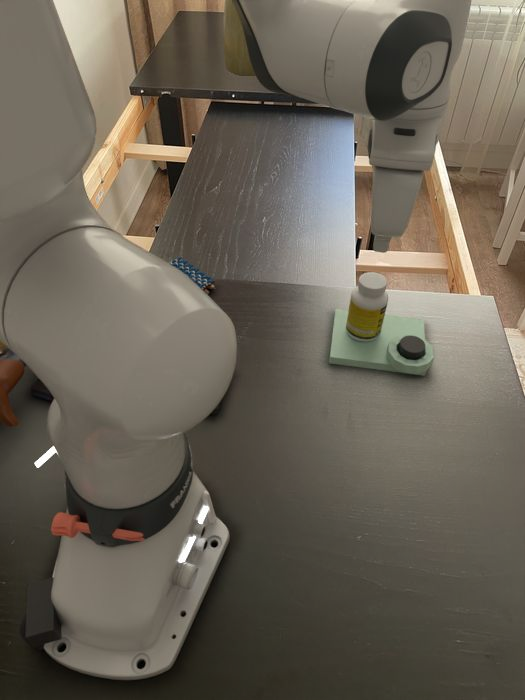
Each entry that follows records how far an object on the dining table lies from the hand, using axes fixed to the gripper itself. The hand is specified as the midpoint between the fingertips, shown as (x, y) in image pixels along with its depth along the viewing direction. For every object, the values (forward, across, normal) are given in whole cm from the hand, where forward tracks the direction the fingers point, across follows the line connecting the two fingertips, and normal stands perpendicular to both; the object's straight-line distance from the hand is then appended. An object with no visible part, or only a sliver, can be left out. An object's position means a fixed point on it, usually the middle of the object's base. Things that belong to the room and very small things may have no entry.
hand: (380, 229), depth 69 cm
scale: (+20, 0, +3) cm, 20 cm away
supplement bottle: (+18, 0, 0) cm, 19 cm away
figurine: (+16, +27, -46) cm, 56 cm away
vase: (+19, -112, -38) cm, 120 cm away
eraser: (+18, +19, -40) cm, 47 cm away
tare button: (+17, +4, +7) cm, 19 cm away
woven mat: (+20, -7, -32) cm, 38 cm away
